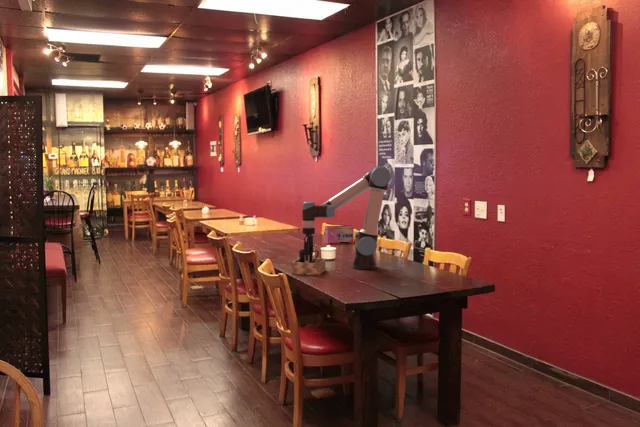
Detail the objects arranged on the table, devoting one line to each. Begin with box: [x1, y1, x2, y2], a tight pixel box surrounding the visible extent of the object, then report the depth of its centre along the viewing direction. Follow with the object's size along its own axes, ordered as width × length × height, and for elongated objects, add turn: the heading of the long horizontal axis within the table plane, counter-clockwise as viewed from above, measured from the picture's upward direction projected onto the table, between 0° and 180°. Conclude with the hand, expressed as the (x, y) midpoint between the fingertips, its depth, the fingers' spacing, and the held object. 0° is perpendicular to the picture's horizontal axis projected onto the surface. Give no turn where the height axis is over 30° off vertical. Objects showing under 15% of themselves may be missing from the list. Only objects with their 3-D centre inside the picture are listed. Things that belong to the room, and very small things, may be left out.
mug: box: [298, 248, 319, 263], centre depth 359 cm, size 8×12×10 cm
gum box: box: [324, 224, 355, 245], centre depth 483 cm, size 24×8×14 cm, turn 107°
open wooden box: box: [291, 257, 327, 276], centre depth 359 cm, size 17×17×7 cm
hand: (308, 264), depth 359 cm, fingers closed on mug, 8 cm apart
